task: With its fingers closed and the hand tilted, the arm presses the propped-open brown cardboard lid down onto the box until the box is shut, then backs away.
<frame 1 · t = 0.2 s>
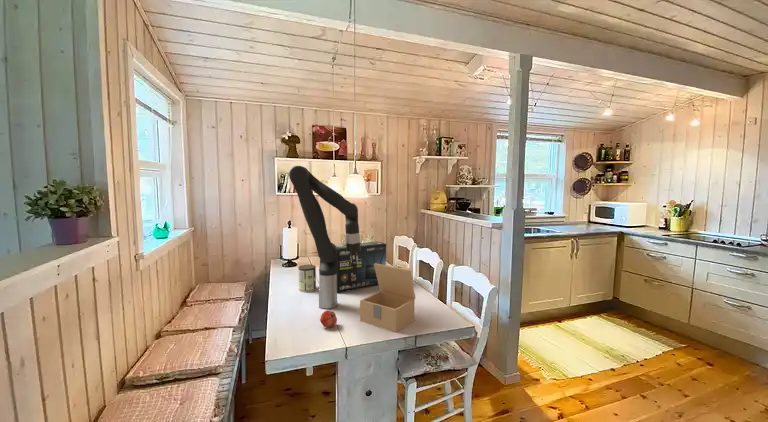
hand: (355, 272, 171), 18 cm above the table, tool pointing down, fingers open, 8 cm apart
coffee can: (307, 289, 198), on the table
pomegranate: (328, 326, 148), on the table
box lid: (394, 280, 157), point 18 cm above the table, hinge at 70.0°
cardboard box: (387, 320, 154), on the table
router box: (358, 286, 205), on the table
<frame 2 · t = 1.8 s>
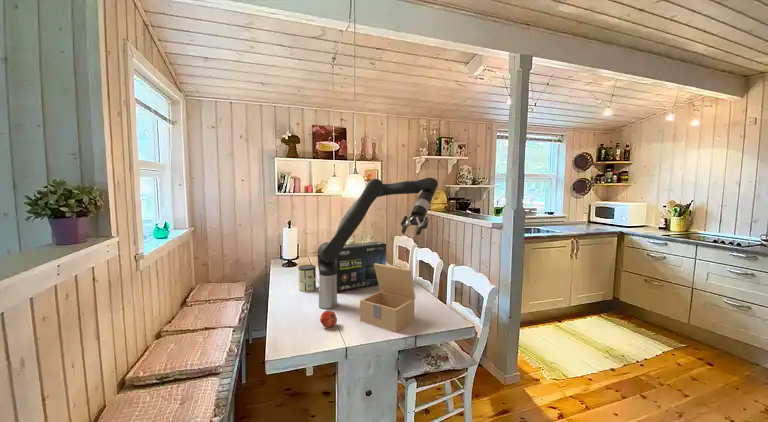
hand: (410, 233, 166), 39 cm above the table, tool tilted 45°, fingers open, 8 cm apart
nothing on the table moved.
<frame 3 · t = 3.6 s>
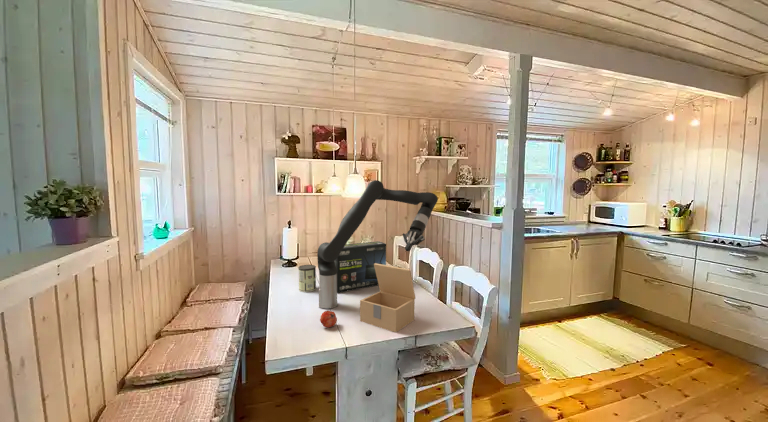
hand: (407, 250, 165), 31 cm above the table, tool tilted 45°, fingers closed
nothing on the table moved.
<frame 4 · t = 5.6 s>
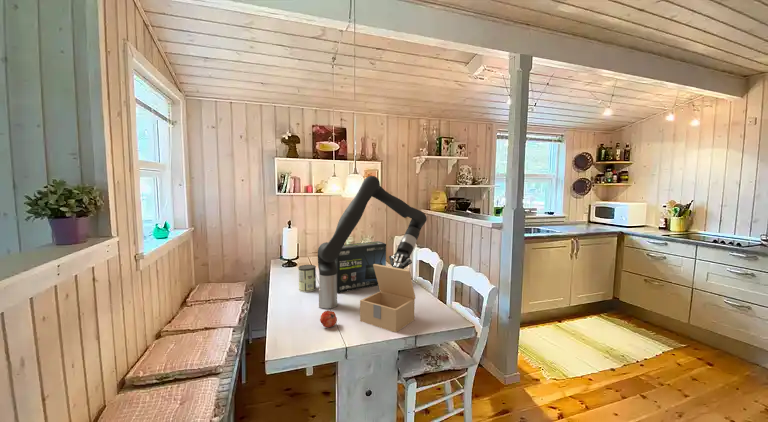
hand: (393, 274, 156), 21 cm above the table, tool tilted 45°, fingers closed
box lid: (394, 281, 157), point 18 cm above the table, hinge at 67.7°, touching gripper
everything else where it was.
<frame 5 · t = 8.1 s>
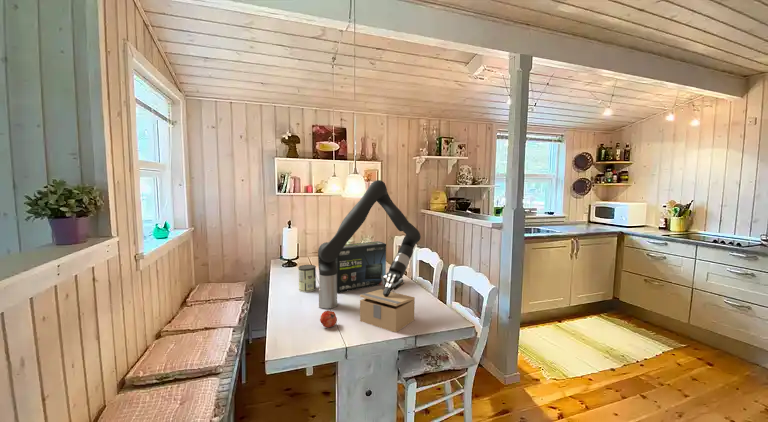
hand: (385, 295, 151), 13 cm above the table, tool tilted 45°, fingers closed
box lid: (387, 296, 153), point 11 cm above the table, hinge at 6.0°
everything else where it was.
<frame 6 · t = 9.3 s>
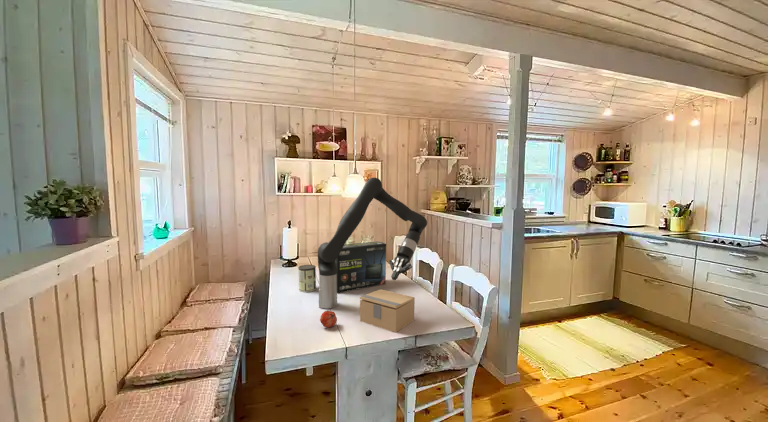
hand: (393, 279, 156), 19 cm above the table, tool tilted 45°, fingers closed
box lid: (387, 297, 153), point 11 cm above the table, hinge at 2.6°
everything else where it was.
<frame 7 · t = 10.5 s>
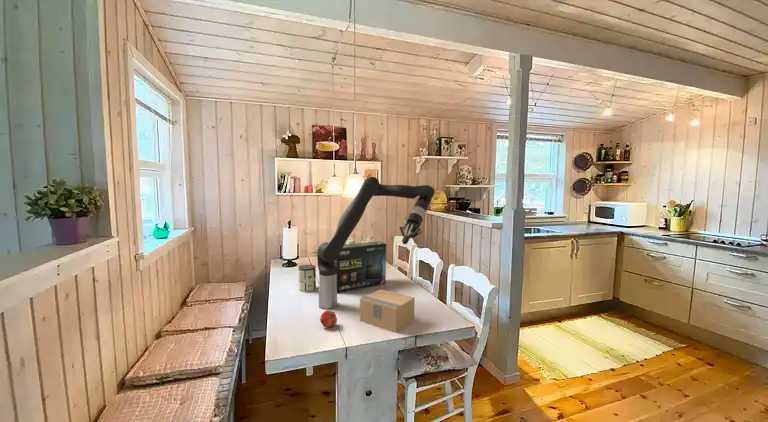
hand: (404, 243, 164), 34 cm above the table, tool tilted 45°, fingers closed
box lid: (387, 298, 153), point 11 cm above the table, hinge at 0.0°, touching cardboard box
everything else where it was.
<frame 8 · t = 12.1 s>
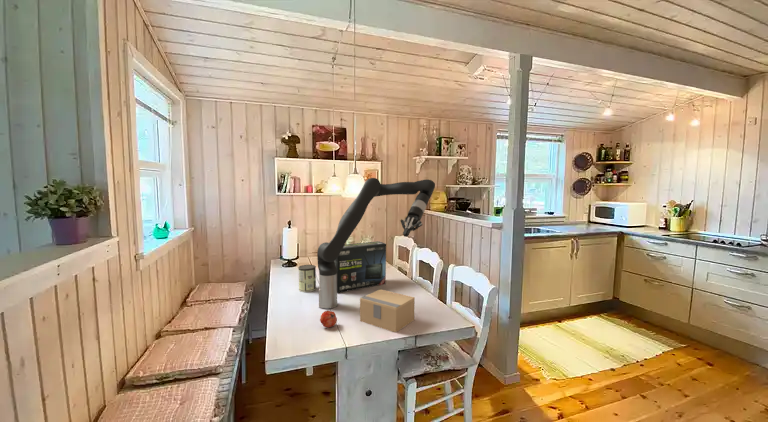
hand: (404, 235, 166), 38 cm above the table, tool tilted 45°, fingers closed
nothing on the table moved.
at the end: box lid at +0° (first picture: +70°); pomegranate moved 0.3 cm from its start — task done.
